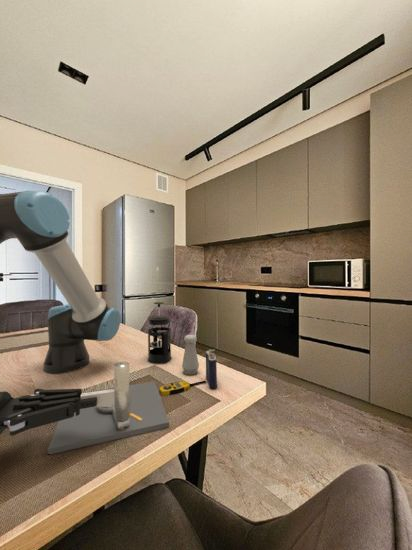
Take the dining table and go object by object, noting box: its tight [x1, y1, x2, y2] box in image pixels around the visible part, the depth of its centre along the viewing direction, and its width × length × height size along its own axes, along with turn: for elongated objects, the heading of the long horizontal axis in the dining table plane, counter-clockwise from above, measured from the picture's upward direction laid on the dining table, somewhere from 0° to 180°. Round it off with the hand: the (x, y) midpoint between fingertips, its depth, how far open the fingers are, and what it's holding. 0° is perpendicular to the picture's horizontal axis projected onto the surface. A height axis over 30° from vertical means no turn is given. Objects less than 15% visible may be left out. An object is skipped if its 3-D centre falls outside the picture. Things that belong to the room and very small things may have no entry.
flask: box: [205, 349, 218, 391], centre depth 78 cm, size 9×3×11 cm, turn 8°
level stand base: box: [47, 380, 170, 455], centre depth 63 cm, size 22×24×1 cm
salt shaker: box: [182, 334, 200, 376], centre depth 86 cm, size 6×6×13 cm
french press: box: [147, 301, 173, 365], centre depth 98 cm, size 12×9×23 cm
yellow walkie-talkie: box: [158, 380, 207, 397], centre depth 75 cm, size 5×2×15 cm
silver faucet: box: [97, 361, 131, 429], centre depth 60 cm, size 16×8×14 cm, turn 31°
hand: (114, 396), depth 53 cm, fingers closed
